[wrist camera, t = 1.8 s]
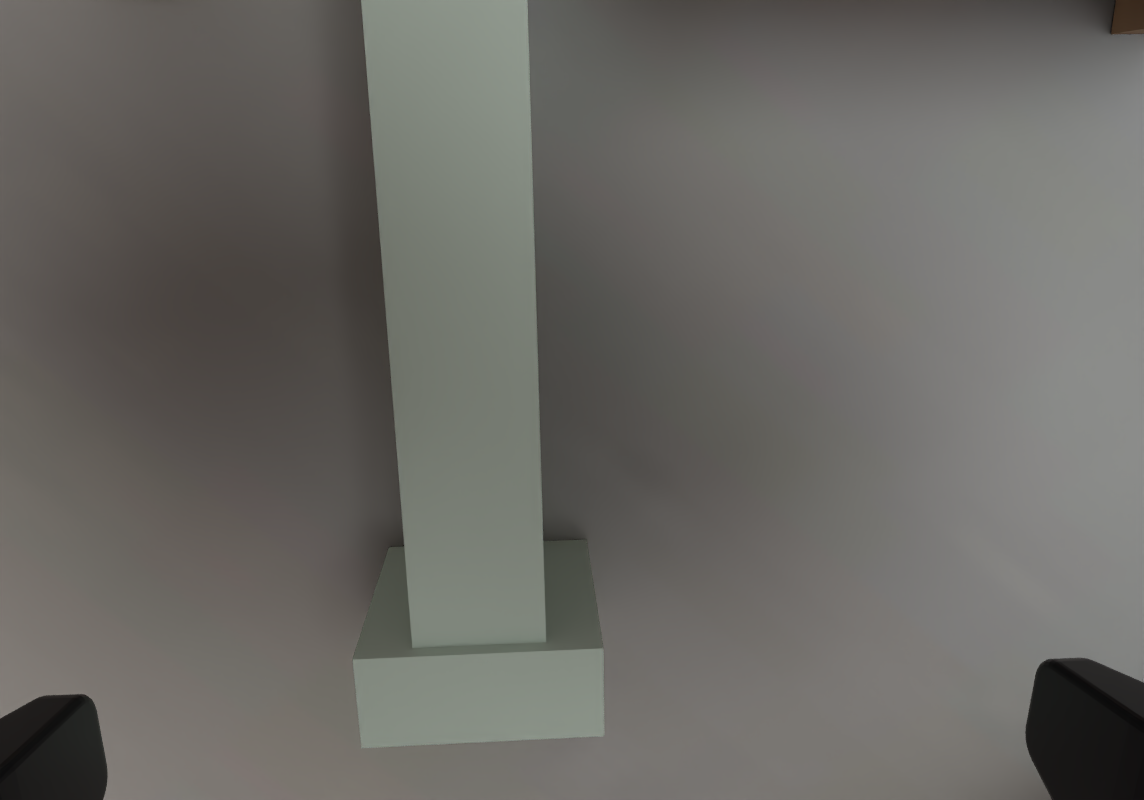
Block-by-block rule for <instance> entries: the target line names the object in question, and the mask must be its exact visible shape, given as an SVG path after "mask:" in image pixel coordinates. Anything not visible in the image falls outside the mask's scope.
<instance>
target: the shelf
mask: <svg viewBox="0 0 1144 800" xmlns="http://www.w3.org/2000/svg"><path fill="white" fill-rule="evenodd" d="M1111 34H1144V0H1116V4H1115V11H1114V18H1113V25H1112V32H1111Z"/></svg>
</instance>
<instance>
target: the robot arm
mask: <svg viewBox="0 0 1144 800" xmlns="http://www.w3.org/2000/svg"><path fill="white" fill-rule="evenodd" d="M1026 743H1027V748H1028V751H1029V754H1030V757H1031V759H1032V761H1033V763H1034V765H1035V767H1036V769H1037V771H1038V773H1039V775H1040V777H1041V779H1042V781H1043V783H1044V785H1045V787H1046V788H1047V790H1048V792H1049V794H1050V796H1051V798H1052V800H1144V683H1143V682H1141V681H1139V680H1137V679H1134V678H1132V677H1130V676H1127V675H1125V674H1123V673H1120V672H1118V671H1116V670H1113V669H1111V668H1109V667H1106V666H1104V665H1102V664H1100V663H1097V662H1095V661H1093V660H1090V659H1086V658H1062V659H1048V660H1046V661H1044V662H1042V663H1041V664H1040V666H1039V667H1038V669H1037V672H1036V675H1035V681H1034V686H1033V691H1032V697H1031V702H1030V708H1029V713H1028V718H1027V724H1026ZM106 786H107V763H106V758H105V753H104V747H103V742H102V736H101V731H100V726H99V720H98V715H97V710H96V707H95V704H94V702H93V701H92V699H91V698H89V697H88V696H86V695H83V694H77V695H48V696H42V697H39V698H37V699H35V700H33V701H31V702H29V703H27V704H26V705H24V706H22V707H20V708H18V709H17V710H15V711H13V712H11V713H9V714H8V715H6V716H4V717H2V718H0V800H103V798H104V795H105V791H106Z"/></svg>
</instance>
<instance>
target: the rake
mask: <svg viewBox="0 0 1144 800" xmlns="http://www.w3.org/2000/svg"><path fill="white" fill-rule="evenodd" d="M361 6H362V18H363V31H364V44H365V56H366V69H367V81H368V94H369V107H370V119H371V132H372V145H373V157H374V170H375V182H376V195H377V208H378V220H379V233H380V246H381V258H382V271H383V283H384V296H385V309H386V321H387V334H388V347H389V359H390V372H391V384H392V397H393V410H394V422H395V435H396V448H397V460H398V473H399V485H400V498H401V511H402V523H403V536H404V547H389V548H388V552H387V555H386V558H385V561H384V564H383V567H382V570H381V573H380V576H379V579H378V582H377V585H376V588H375V592H374V595H373V598H372V601H371V604H370V607H369V610H368V613H367V616H366V619H365V622H364V625H363V628H362V632H361V635H360V638H359V641H358V644H357V647H356V650H355V653H354V656H353V659H352V661H353V671H354V680H355V690H356V700H357V710H358V720H359V729H360V739H361V748H376V747H396V746H417V745H437V744H457V743H477V742H497V741H518V740H538V739H558V738H578V737H598V736H604V648H603V642H602V635H601V629H600V622H599V616H598V610H597V603H596V597H595V591H594V584H593V578H592V572H591V565H590V559H589V552H588V546H587V540H586V539H583V540H558V541H543V517H542V482H541V448H540V414H539V380H538V346H537V312H536V278H535V243H534V209H533V175H532V141H531V107H530V73H529V38H528V4H527V0H361Z"/></svg>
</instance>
